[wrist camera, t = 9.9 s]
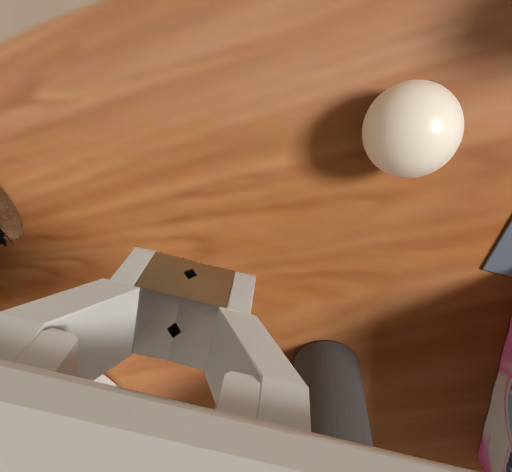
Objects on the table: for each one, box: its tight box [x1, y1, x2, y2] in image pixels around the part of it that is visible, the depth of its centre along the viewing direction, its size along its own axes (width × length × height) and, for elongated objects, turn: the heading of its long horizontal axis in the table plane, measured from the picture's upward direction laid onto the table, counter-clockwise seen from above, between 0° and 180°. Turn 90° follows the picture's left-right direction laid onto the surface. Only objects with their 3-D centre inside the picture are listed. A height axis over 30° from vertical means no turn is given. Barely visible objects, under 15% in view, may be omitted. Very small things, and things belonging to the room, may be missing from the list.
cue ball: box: [362, 79, 464, 178], centre depth 23 cm, size 6×6×6 cm
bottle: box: [293, 340, 373, 446], centre depth 29 cm, size 6×6×15 cm
